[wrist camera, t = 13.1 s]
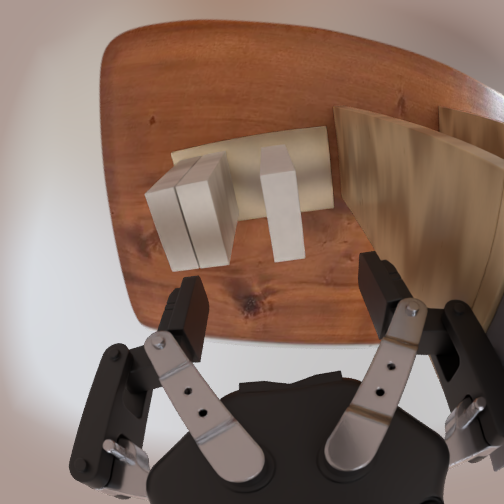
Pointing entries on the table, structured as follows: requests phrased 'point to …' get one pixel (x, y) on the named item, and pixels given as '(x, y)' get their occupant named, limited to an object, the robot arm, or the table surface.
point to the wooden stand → (432, 207)
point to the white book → (282, 203)
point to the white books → (230, 192)
